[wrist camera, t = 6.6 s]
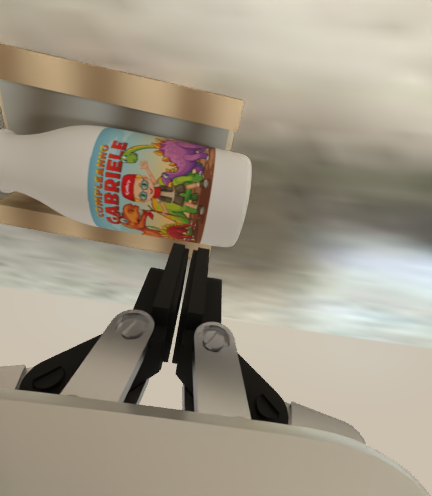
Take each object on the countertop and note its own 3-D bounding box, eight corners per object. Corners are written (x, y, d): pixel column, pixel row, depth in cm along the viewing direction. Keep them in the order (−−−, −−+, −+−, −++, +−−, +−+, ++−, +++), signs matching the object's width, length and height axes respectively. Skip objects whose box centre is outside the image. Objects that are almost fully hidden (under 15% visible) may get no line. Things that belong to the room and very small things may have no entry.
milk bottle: (225, 248, 25) (5, 214, 22) (237, 171, 25) (19, 128, 22) (244, 249, 17) (-86, 198, 15) (261, 139, 17) (-65, 69, 15)
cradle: (241, 99, 21) (244, 101, 18) (210, 240, 29) (208, 261, 25) (-9, 41, 20) (-59, 30, 16) (27, 205, 27) (-3, 222, 24)
